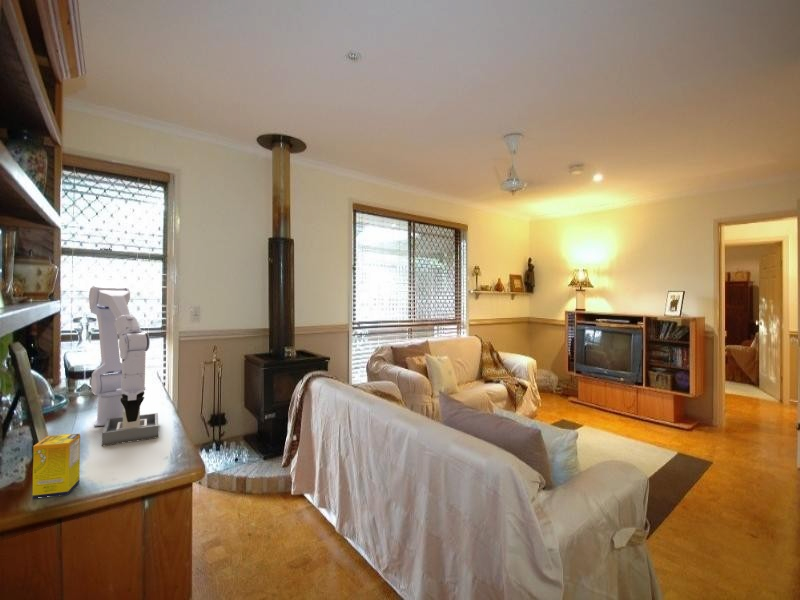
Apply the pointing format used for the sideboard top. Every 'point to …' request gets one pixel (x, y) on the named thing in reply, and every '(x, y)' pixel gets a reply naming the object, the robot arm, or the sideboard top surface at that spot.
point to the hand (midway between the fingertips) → (132, 419)
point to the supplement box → (56, 465)
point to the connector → (130, 424)
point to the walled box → (130, 430)
